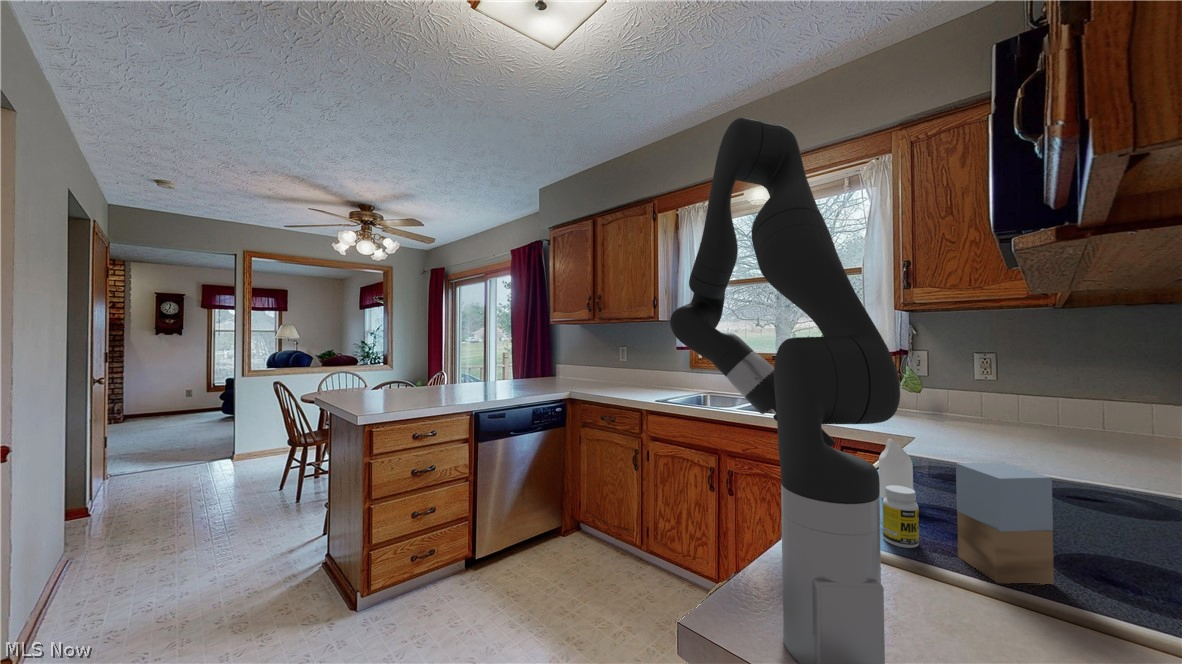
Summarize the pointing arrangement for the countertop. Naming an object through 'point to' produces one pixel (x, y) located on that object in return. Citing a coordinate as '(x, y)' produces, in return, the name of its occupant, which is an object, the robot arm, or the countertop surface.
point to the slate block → (1004, 496)
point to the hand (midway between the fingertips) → (830, 452)
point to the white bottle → (894, 467)
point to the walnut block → (1006, 552)
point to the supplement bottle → (900, 517)
